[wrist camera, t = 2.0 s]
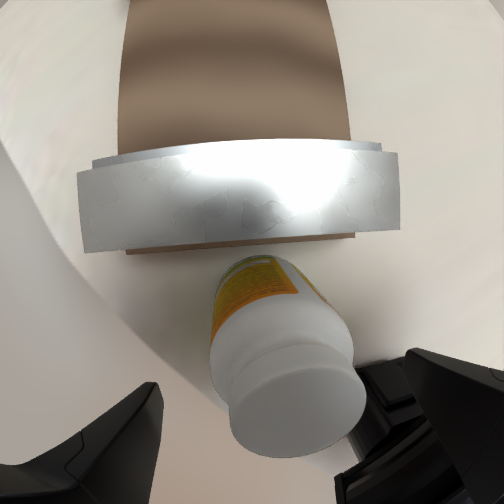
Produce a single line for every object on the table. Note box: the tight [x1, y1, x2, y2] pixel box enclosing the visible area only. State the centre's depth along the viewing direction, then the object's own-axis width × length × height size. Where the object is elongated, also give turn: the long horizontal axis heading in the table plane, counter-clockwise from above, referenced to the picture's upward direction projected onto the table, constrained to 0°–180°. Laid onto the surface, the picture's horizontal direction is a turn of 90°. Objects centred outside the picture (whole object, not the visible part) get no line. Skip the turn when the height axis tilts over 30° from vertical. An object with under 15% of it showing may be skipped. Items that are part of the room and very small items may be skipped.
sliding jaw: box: [77, 139, 400, 253], centre depth 11 cm, size 3×12×4 cm, turn 94°
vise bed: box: [118, 0, 355, 255], centre depth 10 cm, size 20×12×6 cm, turn 4°
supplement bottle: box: [209, 256, 366, 458], centre depth 11 cm, size 5×5×10 cm
